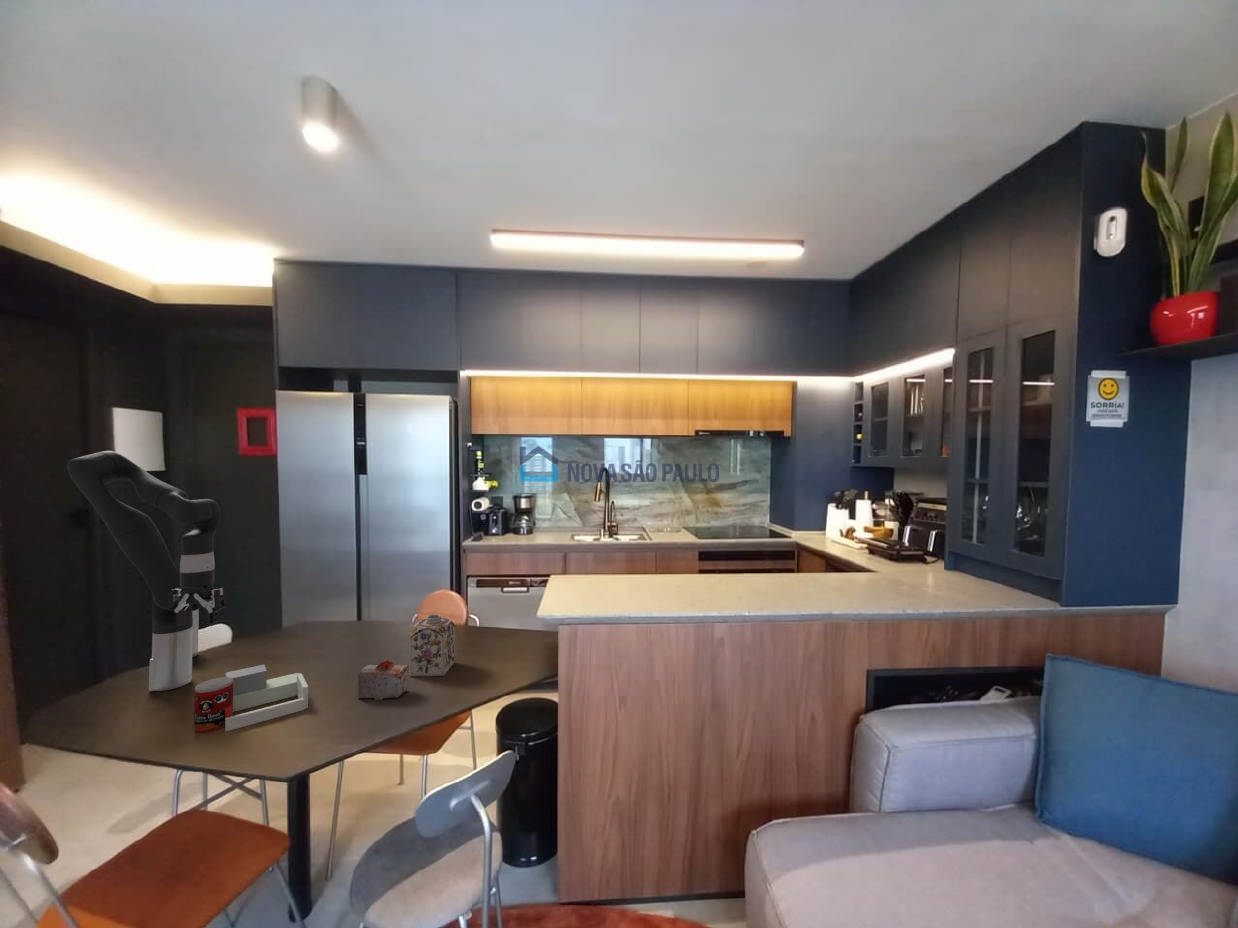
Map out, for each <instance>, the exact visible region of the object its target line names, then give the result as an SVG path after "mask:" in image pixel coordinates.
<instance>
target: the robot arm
mask: <svg viewBox="0 0 1238 928" xmlns="http://www.w3.org/2000/svg"><path fill="white" fill-rule="evenodd" d="M66 469H67V472H68V474H69V477H70V479H71V480H72V482H73V483H74V485H76V488H78V490H80V492H81V493H82V495H83V496H84V497H85V498H86V499H87V501H89V503H90V504H91V505H92V507H93V508H94V510H95V511H96V512H97V514H98V515H99V516H100V518H101V519H102V521H103V522H104V525H105V526H106V527H107V529H108V530H109V533H110V534H111V536H112V537H113V539H114V541H115V542H116V544H117V545H118V547H119V548H120V550H121V552H123V554H124V556H126V558H127V559H128V560H129V561H130V563H131V564H132V565H133V566H134V568H135V569H137V570H138V571H139V573H140V574H141V575H142V577H143V579H144V581H145V583H146V584H147V586H148V589H149V591H150V592H151V595H152V615H151V617H152V618H151V619H152V623H151V624H152V628H151V629H152V631H151V632H152V639H151V640H152V641H151V642H152V644H151V658H150V659H149V669H148V670H149V671H148V672H149V673H148V676H149V677H148V692H162V691H163V692H164V691H169V690H174V689H177V688H181V687H184V686H185V685H187V684H190V683H191V682H192V679H193V657H192V634H193V615H192V604H196V605H200V606H202V607H203V608H205V609H206V611H208V612H207V625H208V627H209V626H214V625H217V623H218V621H219V620H218V619H219V617H218V616H219V611H220V610H223V609H225V608H226V605H227V604H226V602H227V601H226V589H225V587H221V588H214V586H213V585H214V583H215V556H214V555H215V554H214V537H215V535H216V532H217V528H218V526H219V523H220V519H221V512H222V511H221V507H220V505H219V504H218V502H217V501H215V500H214V499H210V498H203V499H201V498H200V499H189V495H188V494H187V492H185V491H183V490H182V489H180V488H178V487H175V486H174V485H171V484H169V483H166V482H164V481H163V480H160V479H158V478H157V477H155V476H154V475H151V474H150V473H149V472H147V471H146V470H145V469H144V468H142V467H141V466H139V465H138V464H137V463H135V462H133V461H132V460H131V459H129V458H128V457H126V456H124V454H123V455H122V454H121V453H119V452H116V451H114V450H103V451H98V452H95V453H91V454H86V455H83V456H80V457H75V458H72V459H70V460H69V461H68V462H67V465H66ZM120 480H121V481H126V482H130V483H132V485H133V486H134V490H135V493H136V495H137V497H138V498H139V499H140V500H141V501H142V502H144V503H145V504H148V505H149V506H151V507H153V508H156V509H157V510H160V511H163V512H164V513H165V514H166V516H168V517H169V518H170V519H172V521H174V522H175V523H178V524H180V525H184V526H193V528H192V530H191V531H189V532H187V533H185V534H183V536H181V541H180V560H179V569H178V568H177V566H176V565H175V563H174V561H173V560H172V557H171V555H170V551H169V549H168V548H167V547H168V546H167V544H166V542H165V540H164V538H163V536H162V534H161V532H160V530H159V528H158V527H157V525H156V524H155V523H154V520H153V519H152V518H151V517H150V516H149V515H147V514H146V513H144V512H143V511H140V510H138V509H137V508H134V507H132V506H130V505H128V504H126V503H124V502H122V501H120V500H119V499H118V498H116V497H115V496H114V495H113V494H112V492H111V491H110V490H109V489H108V487H107V486H106V485H107V484H108V485H109V484H111V483H114V482H117V481H120Z"/></svg>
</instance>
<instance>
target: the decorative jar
mask: <svg viewBox="0 0 1238 928" xmlns="http://www.w3.org/2000/svg"><path fill="white" fill-rule="evenodd" d="M455 662H456V624H455V622H453V621H452V620H451V619H449V618H448V617H447V618H446V617H442V615H441V614H438V613H436V614H430V615H427V616H426V618H425V619H422V620H419V621H417V622H416V623H414V625H413V628H412V630H411V632H410V635H409V677H444V676H445V675H446V674H447V673H448V672H449V670H450V669H451V668H452V667H453V665H454V664H455Z"/></svg>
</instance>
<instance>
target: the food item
mask: <svg viewBox="0 0 1238 928" xmlns="http://www.w3.org/2000/svg"><path fill="white" fill-rule="evenodd" d="M409 672H410V664H406V665H404V664H402V665H399V664H397V665H396V664H394V661H390V660H384V661H381V662H380V663H379V664H368V665H366V666H364V667H362V668H361V669H360V670H359V672H358V674H357V675H358V677H357V678H358V679H357V684H358V685H357V690H358V692H357V698H358V699H374V700H375V701H379V700H383V699H395V698H396V699H397V698H399V697H400V696H401V695H403V694H404V693H405V692H406V691H408V675H409Z"/></svg>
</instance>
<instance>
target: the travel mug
mask: <svg viewBox="0 0 1238 928" xmlns="http://www.w3.org/2000/svg"><path fill="white" fill-rule="evenodd" d="M199 609H200V608H199V605H196V604H192V615H193V634H192V658H194V657H196V656H197V655H199V624H200V623H199V621H200V620H199V617H200V616H199Z"/></svg>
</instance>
